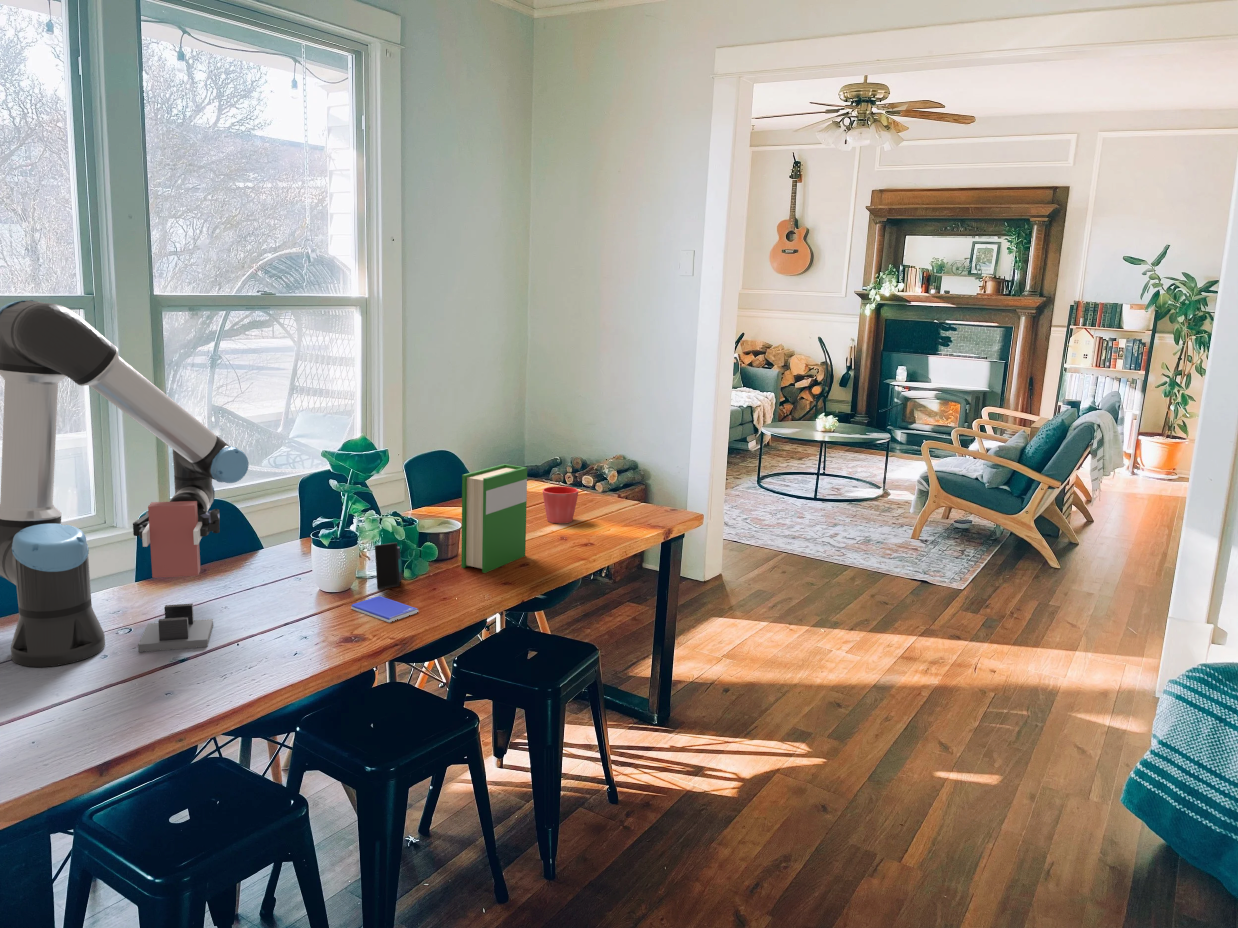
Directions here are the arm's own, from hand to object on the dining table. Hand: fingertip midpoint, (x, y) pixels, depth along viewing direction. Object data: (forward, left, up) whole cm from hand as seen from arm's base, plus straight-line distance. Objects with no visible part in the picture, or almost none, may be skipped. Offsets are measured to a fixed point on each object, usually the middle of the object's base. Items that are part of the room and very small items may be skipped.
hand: (170, 538), depth 173 cm
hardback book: (+69, +43, -22) cm, 85 cm away
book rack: (-1, +5, -22) cm, 23 cm away
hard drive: (+40, +13, -23) cm, 48 cm away
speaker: (+41, +31, -22) cm, 57 cm away
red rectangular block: (0, +5, -8) cm, 10 cm away
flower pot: (+96, +80, -22) cm, 127 cm away
